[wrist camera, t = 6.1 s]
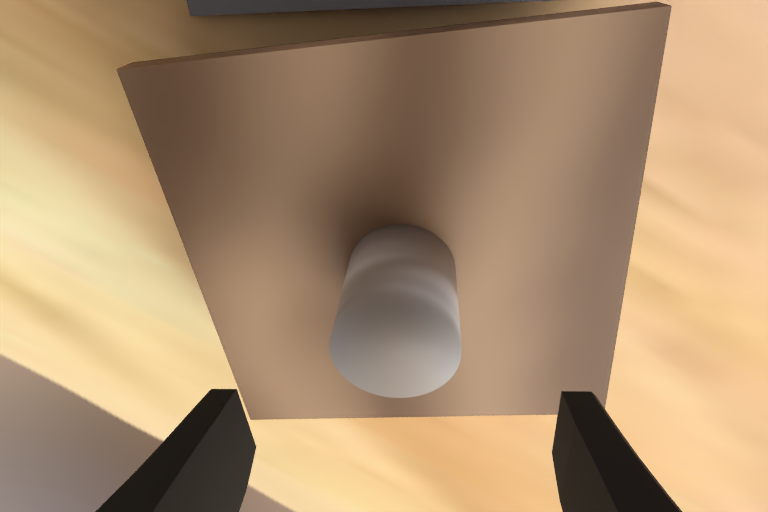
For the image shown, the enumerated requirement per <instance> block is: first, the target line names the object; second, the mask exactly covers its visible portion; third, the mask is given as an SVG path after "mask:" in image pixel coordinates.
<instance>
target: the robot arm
mask: <svg viewBox="0 0 768 512" xmlns="http://www.w3.org/2000/svg"><path fill="white" fill-rule="evenodd" d="M255 449H256V445H255V442H254V439H253V436H252V433H251V430H250V427H249V424H248V421H247V418H246V415H245V412H244V410H243V407H242V404H241V401H240V398H239V395H238V392H237V389H211V390H210V391H209V392H208V393H207V394H206V395H205V396H204V398H203V399H202V400H201V401H200V402H199V403H198V404H197V405H196V406H195V407H194V408H193V410H192V411H191V412H190V413H189V414H188V415H187V416H186V417H185V418H184V420H183V421H182V422H181V423H180V424H179V425H178V426H177V427H176V428H175V430H174V431H173V432H172V433H171V434H170V435H169V436H168V437H167V438H166V440H165V441H164V442H163V443H162V444H161V445H160V446H159V447H158V448H157V450H155V451H154V452H153V453H152V455H151V456H150V457H149V458H148V459H147V460H146V461H145V462H144V463H143V464H142V465H141V466H140V467H139V469H138V470H137V471H136V472H135V473H134V474H133V475H132V476H131V477H130V478H129V479H128V480H127V481H126V482H125V483H124V484H123V485H122V486H121V487H120V488H119V489H118V490H117V491H116V492H115V493H114V494H113V495H112V496H111V497H110V498H109V499H108V500H107V501H106V502H105V503H104V504H103V505H102V506H101V507H100V508H99V509H98V510H96V512H239V510H240V507H241V504H242V501H243V498H244V495H245V492H246V489H247V485H248V481H249V476H250V472H251V468H252V463H253V459H254V454H255ZM552 455H553V462H554V468H555V474H556V480H557V486H558V492H559V498H560V503H561V506H562V510H563V512H682V511H681V510H680V508H679V507H678V506H677V505H676V504H675V502H674V501H673V500H672V499H671V497H670V496H669V495H668V494H667V493H666V491H665V490H664V489H663V487H662V486H661V485H660V484H659V482H658V481H657V480H656V479H655V477H654V476H653V475H652V473H651V472H650V471H649V470H648V468H647V467H646V466H645V465H644V463H643V462H642V461H641V459H640V458H639V457H638V455H637V454H636V453H635V451H634V450H633V448H632V447H631V446H630V444H629V443H628V442H627V440H626V439H625V437H624V436H623V435H622V433H621V432H620V430H619V429H618V428H617V426H616V425H615V423H614V422H613V420H612V419H611V418H610V416H609V415H608V413H607V412H606V410H605V409H604V407H603V406H602V404H601V403H600V401H599V400H598V398H597V397H596V395H595V394H594V393H593V392H591V391H561V398H560V404H559V411H558V417H557V424H556V430H555V437H554V443H553V450H552Z"/></svg>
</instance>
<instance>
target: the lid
mask: <svg viewBox="0 0 768 512" xmlns="http://www.w3.org/2000/svg"><path fill="white" fill-rule="evenodd" d="M670 12H671V6H670V5H667V4H663V3H660V2H651V3H642V4H634V5H625V6H617V7H608V8H599V9H591V10H582V11H573V12H565V13H556V14H547V15H539V16H530V17H522V18H513V19H504V20H496V21H487V22H478V23H470V24H461V25H452V26H444V27H435V28H427V29H418V30H409V31H401V32H392V33H383V34H375V35H366V36H358V37H349V38H340V39H332V40H323V41H314V42H306V43H297V44H288V45H280V46H271V47H263V48H254V49H245V50H237V51H228V52H219V53H211V54H202V55H193V56H185V57H176V58H168V59H159V60H150V61H142V62H133V63H130V64H128V65H126V66H123V67H121V68H119V69H117V72H118V75H119V77H120V80H121V82H122V85H123V88H124V90H125V93H126V96H127V98H128V101H129V103H130V106H131V109H132V111H133V114H134V116H135V119H136V122H137V124H138V127H139V129H140V132H141V135H142V137H143V140H144V143H145V145H146V148H147V150H148V153H149V156H150V158H151V161H152V163H153V166H154V169H155V171H156V174H157V176H158V179H159V182H160V184H161V187H162V190H163V192H164V195H165V197H166V200H167V203H168V205H169V208H170V210H171V213H172V216H173V218H174V221H175V224H176V226H177V229H178V231H179V234H180V237H181V239H182V242H183V244H184V247H185V250H186V252H187V255H188V257H189V260H190V263H191V265H192V268H193V271H194V273H195V276H196V278H197V281H198V284H199V286H200V289H201V291H202V294H203V297H204V299H205V302H206V304H207V307H208V310H209V312H210V315H211V318H212V320H213V323H214V325H215V328H216V331H217V333H218V336H219V338H220V341H221V344H222V346H223V349H224V351H225V354H226V357H227V359H228V362H229V365H230V367H231V370H232V372H233V375H234V378H235V380H236V383H237V385H238V388H239V391H240V393H241V396H242V398H243V401H244V404H245V406H246V409H247V412H248V414H249V417H250V419H251V420H259V419H319V418H378V417H437V416H496V415H555V414H558V411H559V404H560V398H561V391H591V392H593V393H594V394H595V395H596V397H597V398H598V400H599V401H600V403H601V404H602V406H603V407H604V409H605V404H606V398H607V392H608V386H609V380H610V374H611V368H612V362H613V356H614V350H615V344H616V338H617V332H618V326H619V320H620V313H621V307H622V301H623V295H624V289H625V283H626V277H627V271H628V265H629V259H630V253H631V247H632V241H633V235H634V229H635V223H636V217H637V211H638V205H639V199H640V193H641V187H642V181H643V175H644V169H645V163H646V157H647V151H648V145H649V139H650V133H651V127H652V121H653V114H654V108H655V102H656V96H657V90H658V84H659V78H660V72H661V66H662V60H663V54H664V48H665V42H666V36H667V30H668V24H669V18H670Z"/></svg>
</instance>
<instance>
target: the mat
mask: <svg viewBox="0 0 768 512" xmlns="http://www.w3.org/2000/svg"><path fill="white" fill-rule="evenodd" d="M527 1H550V0H187V3H188V7H189V11H190V16H205V15H228V14H251V13H274V12H297V11H320V10H343V9H366V8H389V7H412V6H435V5H458V4H481V3H504V2H527Z"/></svg>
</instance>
